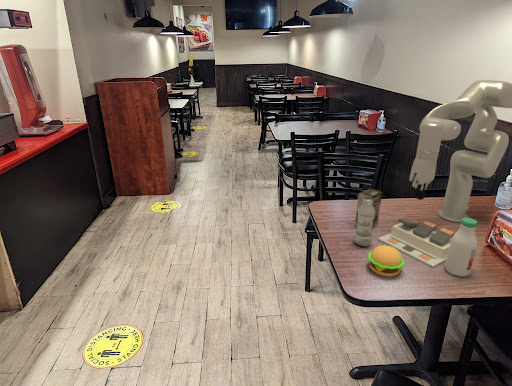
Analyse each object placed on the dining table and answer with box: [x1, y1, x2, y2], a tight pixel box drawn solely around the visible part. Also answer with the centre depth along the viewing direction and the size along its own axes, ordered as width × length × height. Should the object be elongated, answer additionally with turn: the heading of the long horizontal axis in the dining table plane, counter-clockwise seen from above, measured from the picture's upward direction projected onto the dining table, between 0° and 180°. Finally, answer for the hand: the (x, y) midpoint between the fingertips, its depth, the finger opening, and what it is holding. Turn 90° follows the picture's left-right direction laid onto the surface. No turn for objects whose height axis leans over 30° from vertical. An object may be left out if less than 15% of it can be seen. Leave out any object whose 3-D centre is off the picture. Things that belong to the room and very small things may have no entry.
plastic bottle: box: [354, 197, 375, 247], centre depth 135 cm, size 6×7×20 cm
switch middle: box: [413, 220, 438, 238], centre depth 136 cm, size 8×5×1 cm, turn 123°
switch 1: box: [397, 218, 421, 226], centre depth 142 cm, size 8×5×1 cm, turn 123°
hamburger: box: [367, 244, 405, 278], centre depth 121 cm, size 12×12×9 cm
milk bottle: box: [444, 217, 478, 278], centre depth 118 cm, size 8×8×20 cm
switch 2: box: [429, 227, 456, 246], centre depth 131 cm, size 8×5×1 cm, turn 123°
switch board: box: [377, 222, 452, 269], centre depth 136 cm, size 17×24×5 cm
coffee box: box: [354, 188, 383, 229], centre depth 151 cm, size 9×6×16 cm
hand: (418, 198), depth 139 cm, fingers closed
